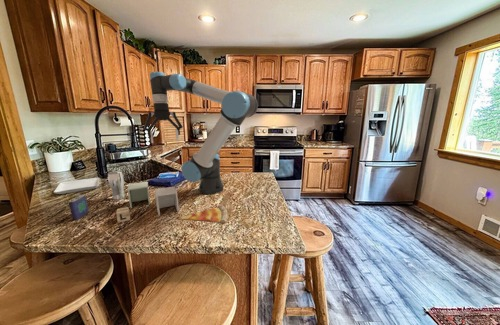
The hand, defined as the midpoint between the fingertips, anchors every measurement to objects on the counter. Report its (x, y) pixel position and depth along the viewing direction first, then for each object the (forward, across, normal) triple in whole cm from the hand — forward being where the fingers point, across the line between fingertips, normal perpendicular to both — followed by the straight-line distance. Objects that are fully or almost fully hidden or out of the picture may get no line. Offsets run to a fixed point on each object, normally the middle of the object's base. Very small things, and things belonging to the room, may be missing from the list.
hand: (165, 141), depth 114 cm
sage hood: (+31, -17, -5) cm, 36 cm away
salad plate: (+30, -48, +44) cm, 72 cm away
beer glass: (+30, -27, +9) cm, 42 cm away
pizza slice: (+32, +8, -36) cm, 49 cm away
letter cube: (+31, -25, -21) cm, 45 cm away
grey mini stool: (+31, -7, -22) cm, 39 cm away
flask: (+31, -42, -6) cm, 52 cm away
